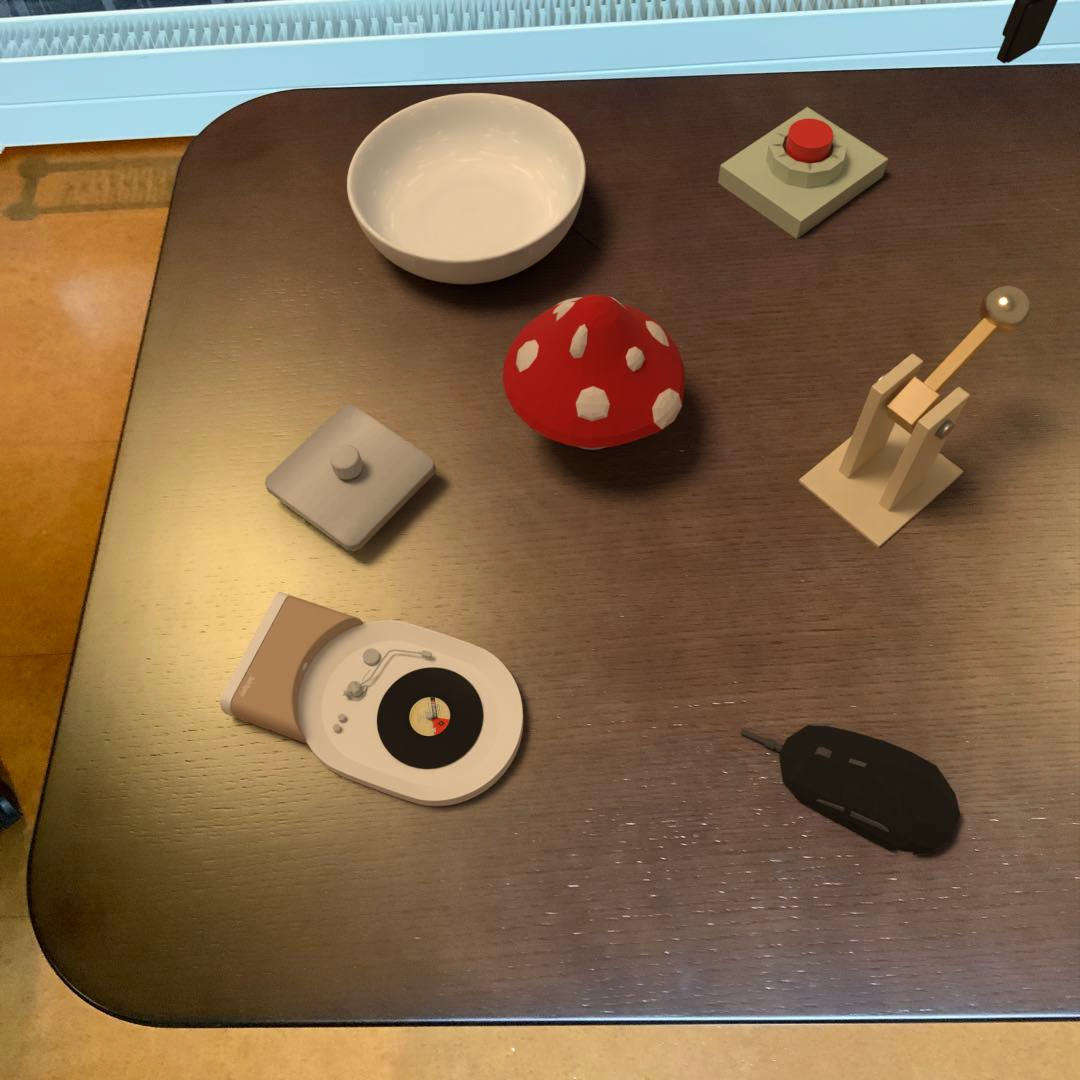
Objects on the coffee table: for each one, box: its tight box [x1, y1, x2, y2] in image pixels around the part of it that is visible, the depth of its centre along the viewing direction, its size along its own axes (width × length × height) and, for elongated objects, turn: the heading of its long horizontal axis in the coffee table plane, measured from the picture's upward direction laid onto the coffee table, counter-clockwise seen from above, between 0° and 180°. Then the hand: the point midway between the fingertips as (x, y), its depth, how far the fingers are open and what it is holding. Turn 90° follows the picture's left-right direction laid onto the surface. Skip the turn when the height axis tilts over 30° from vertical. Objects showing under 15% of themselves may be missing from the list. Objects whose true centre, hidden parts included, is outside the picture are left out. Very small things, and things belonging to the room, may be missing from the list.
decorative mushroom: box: [502, 293, 686, 451], centre depth 79 cm, size 14×14×15 cm
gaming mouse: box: [740, 724, 961, 856], centre depth 69 cm, size 6×15×4 cm, turn 62°
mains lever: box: [887, 285, 1031, 435], centre depth 73 cm, size 12×3×3 cm, turn 131°
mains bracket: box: [798, 353, 971, 549], centre depth 77 cm, size 10×8×12 cm
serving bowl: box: [346, 92, 587, 285], centre depth 94 cm, size 21×21×7 cm
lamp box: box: [717, 106, 889, 240], centre depth 97 cm, size 12×10×4 cm
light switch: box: [264, 404, 437, 552], centre depth 81 cm, size 10×10×5 cm
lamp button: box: [785, 118, 833, 164], centre depth 95 cm, size 4×4×2 cm
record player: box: [219, 591, 524, 807], centre depth 73 cm, size 12×3×20 cm
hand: (1079, 93), depth 63 cm, fingers open, 9 cm apart
